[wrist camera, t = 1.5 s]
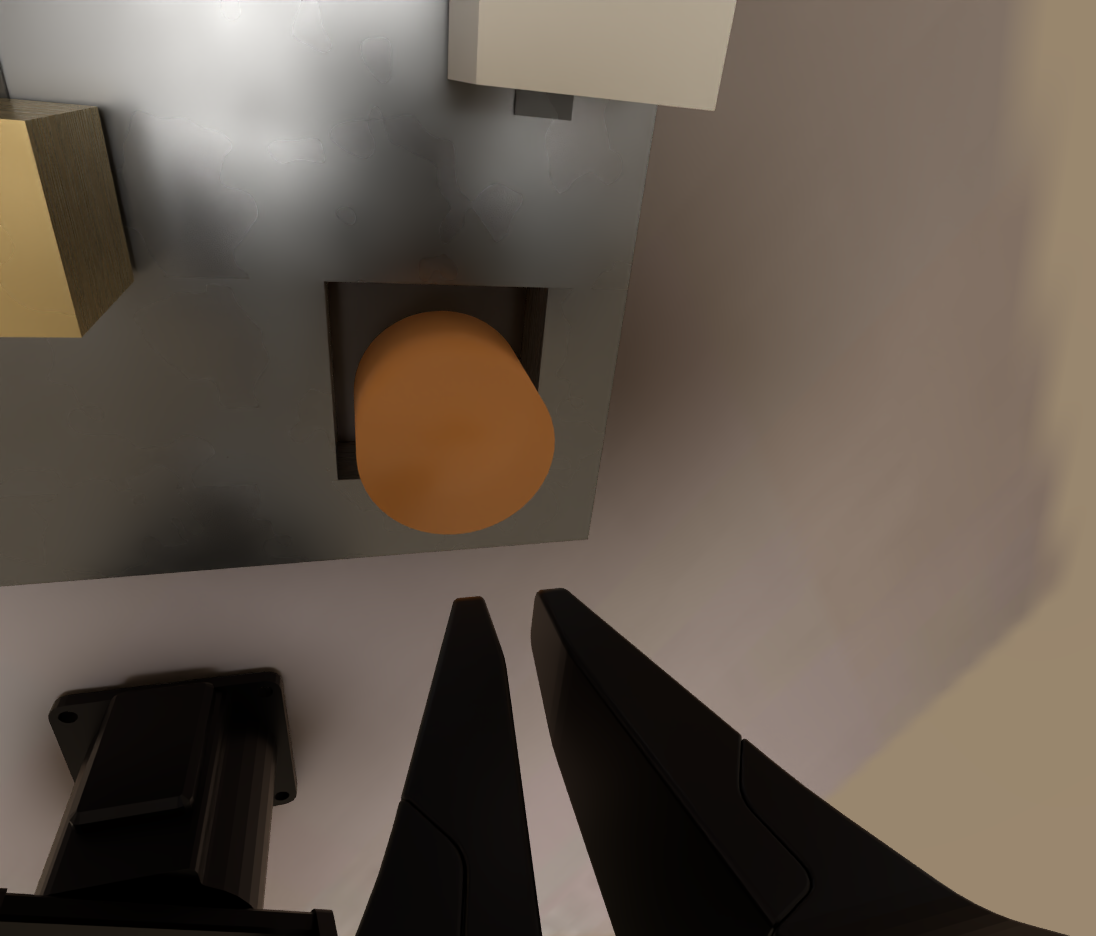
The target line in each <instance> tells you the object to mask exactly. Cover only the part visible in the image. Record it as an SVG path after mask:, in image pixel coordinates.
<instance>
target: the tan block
mask: <svg viewBox="0 0 1096 936" xmlns="http://www.w3.org/2000/svg"><path fill="white" fill-rule="evenodd" d="M133 282H134V276H133V272H132V267H131V262H130V258H129V253H128V248H127V243H126V239H125V234H124V229H123V225H122V220H121V215H120V210H119V206H118V201H117V196H116V192H115V187H114V182H113V177H112V173H111V168H110V163H109V159H108V154H107V149H106V145H105V140H104V135H103V130H102V126H101V121H100V116H99V112H98V107H97V106H85V105H74V104H63V103H52V102H40V101H29V100H18V99H7V98H0V337H62V338H82V337H83V336H84V335H85V333H86V332H87V331H88V330H89V329H90V328H91V327H92V326H93V325H94V324H95V323H96V322H97V321H98V320H99V318H100V317H101V316H102V315H103V314H104V313H105V312H106V311H107V310H108V309H109V308H110V307H111V306H112V304H113V303H114V302H115V301H116V300H117V299H118V298H119V297H120V296H121V295H122V294H123V293H124V292H125V290H126V289H127V288H128V287H129V286H130V285H131V284H132V283H133Z"/></svg>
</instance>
